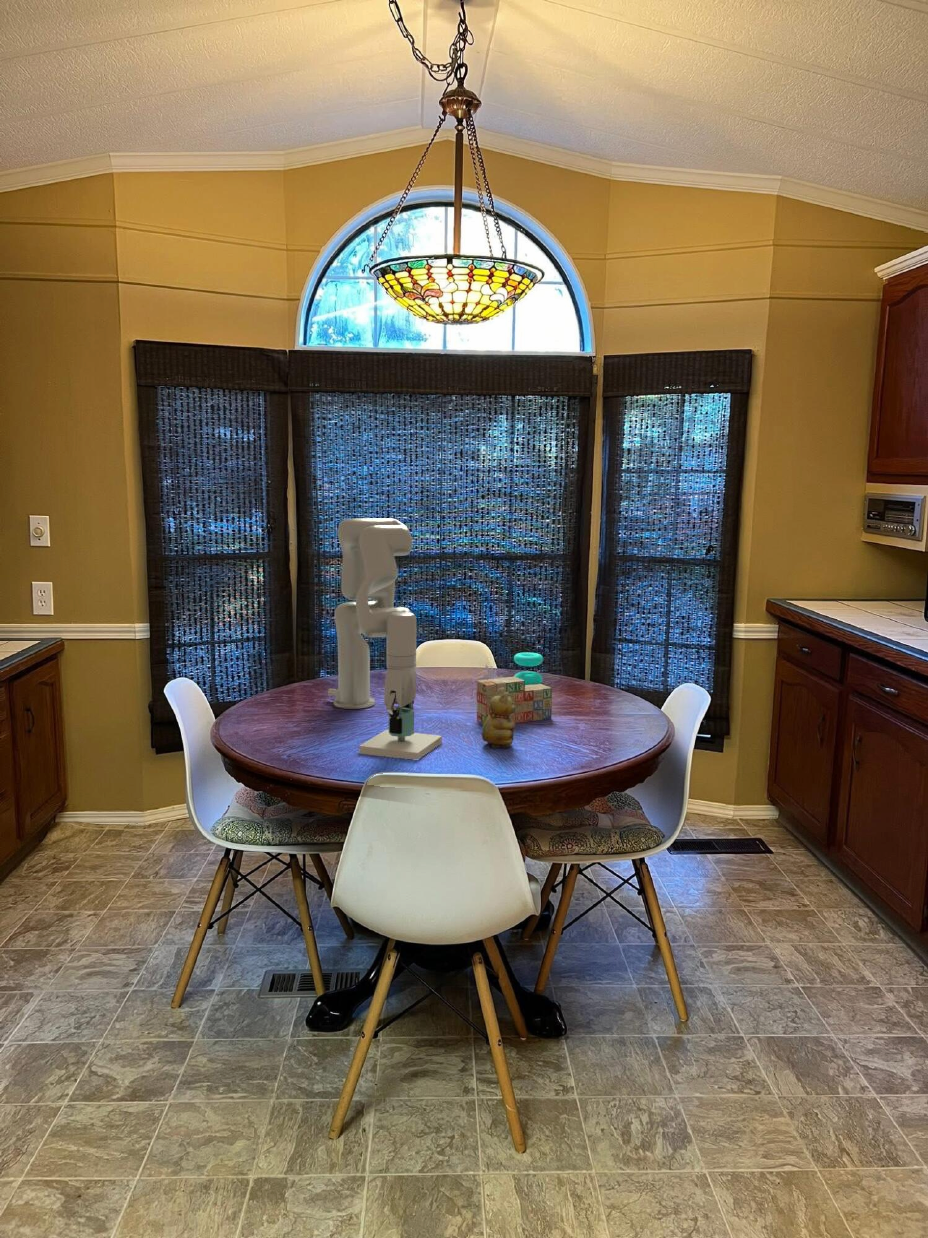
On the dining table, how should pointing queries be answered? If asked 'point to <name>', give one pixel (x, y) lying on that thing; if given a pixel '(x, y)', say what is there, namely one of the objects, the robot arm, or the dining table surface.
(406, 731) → the bead
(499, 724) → the decorative figurine
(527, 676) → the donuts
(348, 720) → the dining table surface
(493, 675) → the water lily
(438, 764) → the dining table surface
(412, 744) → the board
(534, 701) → the stack of blocks
